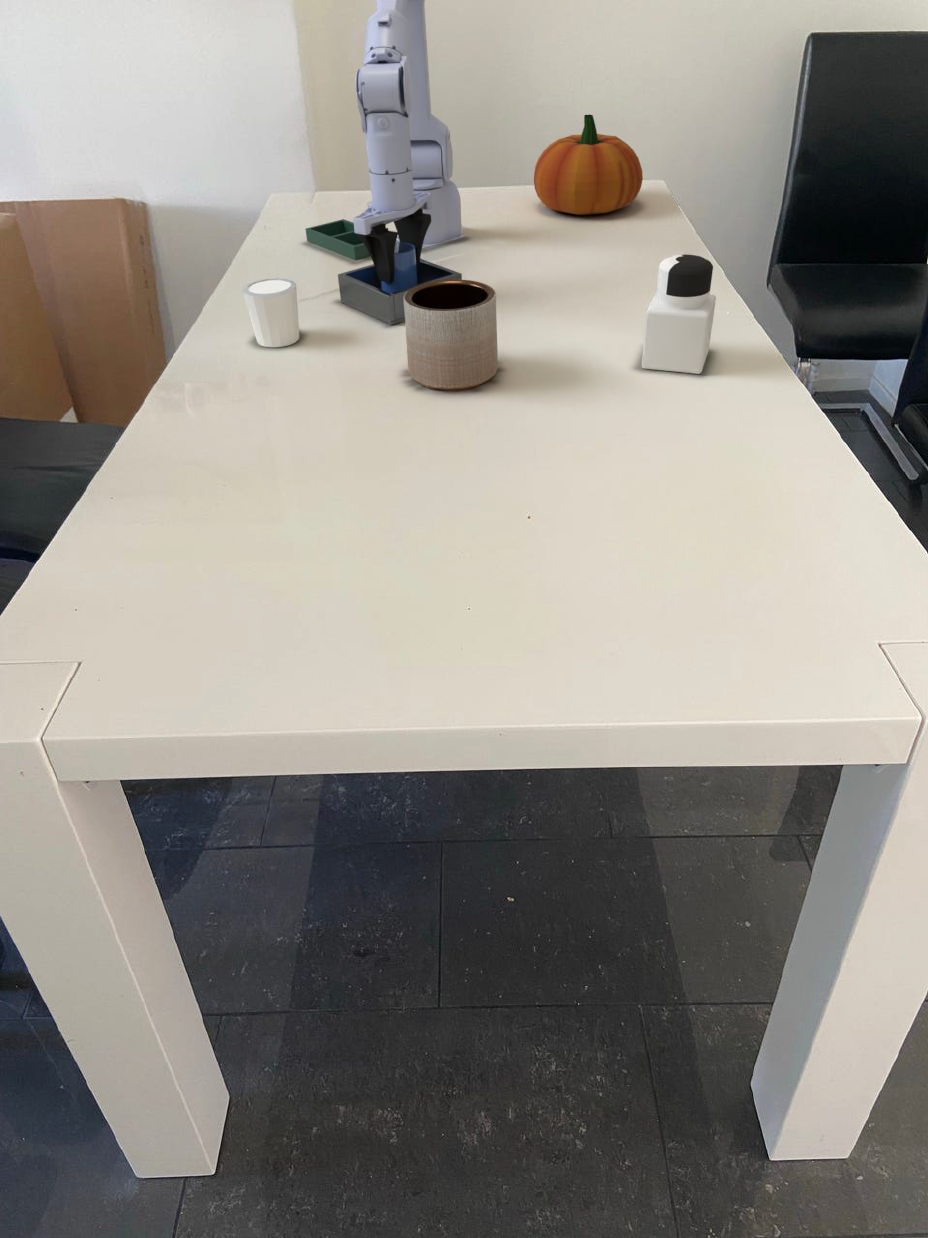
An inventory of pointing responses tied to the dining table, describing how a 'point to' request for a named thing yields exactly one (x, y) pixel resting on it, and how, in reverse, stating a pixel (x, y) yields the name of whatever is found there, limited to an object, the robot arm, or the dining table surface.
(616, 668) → the dining table surface
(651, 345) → the medicine bottle
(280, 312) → the white jar candle
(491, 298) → the planter
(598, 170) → the pumpkin
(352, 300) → the dark gray square tray
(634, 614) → the dining table surface
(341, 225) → the divided tray
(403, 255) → the cup
